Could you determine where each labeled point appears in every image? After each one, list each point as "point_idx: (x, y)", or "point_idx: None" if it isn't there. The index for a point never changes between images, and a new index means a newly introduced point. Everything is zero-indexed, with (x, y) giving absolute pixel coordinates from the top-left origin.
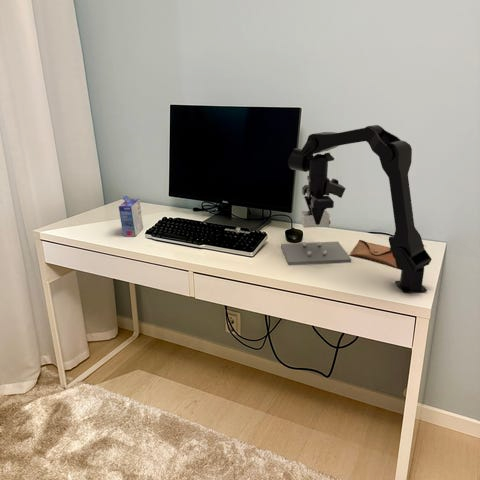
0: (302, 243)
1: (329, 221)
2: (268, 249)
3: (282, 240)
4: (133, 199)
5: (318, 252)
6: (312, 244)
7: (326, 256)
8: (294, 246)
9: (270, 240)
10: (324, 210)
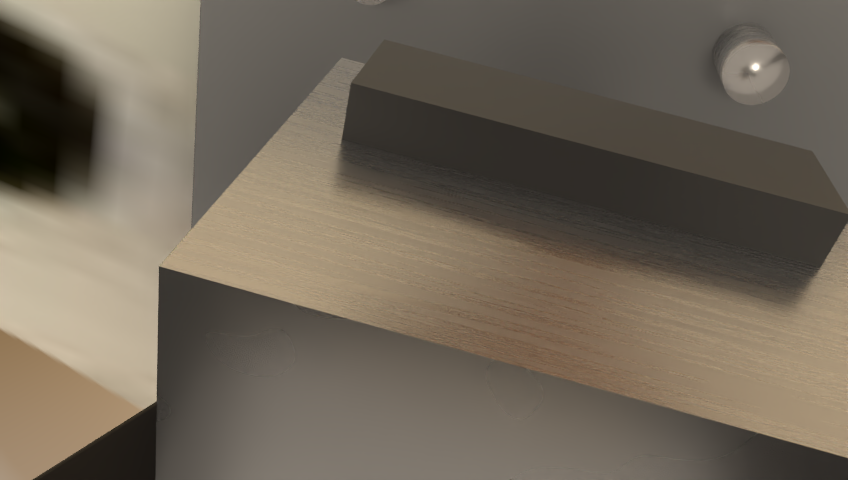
0: (214, 129)
1: (822, 230)
2: None
3: (18, 234)
4: None
5: (596, 83)
6: (276, 18)
7: (798, 50)
8: None
9: (15, 333)
10: (200, 346)
